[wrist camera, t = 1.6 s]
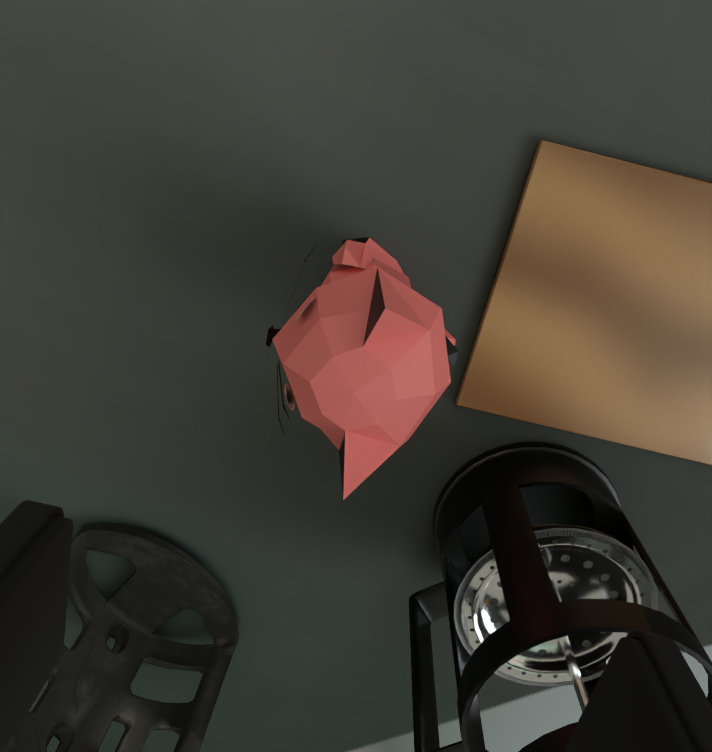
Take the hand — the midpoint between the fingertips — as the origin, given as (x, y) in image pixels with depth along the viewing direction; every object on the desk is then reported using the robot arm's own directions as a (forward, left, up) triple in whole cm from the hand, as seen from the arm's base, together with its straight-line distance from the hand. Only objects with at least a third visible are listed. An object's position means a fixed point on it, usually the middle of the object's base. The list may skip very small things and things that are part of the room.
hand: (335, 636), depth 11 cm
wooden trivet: (-3, +12, -20) cm, 23 cm away
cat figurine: (-1, 0, -20) cm, 20 cm away
